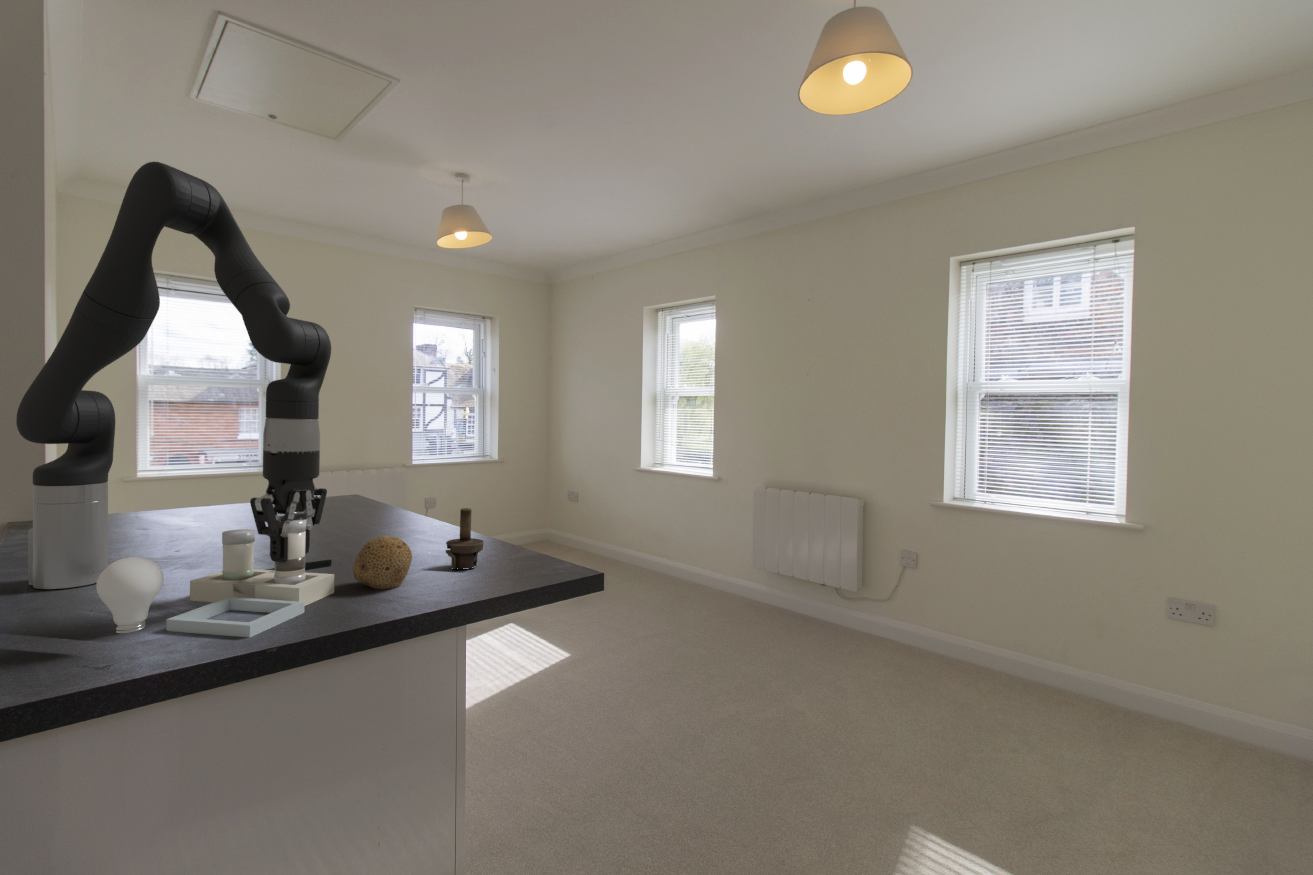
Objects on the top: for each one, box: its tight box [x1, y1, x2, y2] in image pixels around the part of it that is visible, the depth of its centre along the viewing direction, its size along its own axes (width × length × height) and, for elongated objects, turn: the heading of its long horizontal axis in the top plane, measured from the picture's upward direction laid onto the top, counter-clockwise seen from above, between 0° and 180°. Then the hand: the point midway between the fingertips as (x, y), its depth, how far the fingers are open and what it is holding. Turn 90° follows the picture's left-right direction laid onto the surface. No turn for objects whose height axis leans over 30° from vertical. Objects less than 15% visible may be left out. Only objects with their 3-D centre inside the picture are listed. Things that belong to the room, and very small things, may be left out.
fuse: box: [221, 528, 256, 581], centre depth 94 cm, size 4×4×10 cm
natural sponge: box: [352, 535, 413, 590], centre depth 101 cm, size 9×9×10 cm
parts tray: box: [165, 597, 305, 638], centre depth 82 cm, size 12×10×3 cm
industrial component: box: [445, 507, 485, 569], centre depth 120 cm, size 9×7×12 cm
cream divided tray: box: [189, 568, 335, 607], centre depth 93 cm, size 18×8×4 cm, turn 83°
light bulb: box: [95, 556, 165, 634], centre depth 78 cm, size 7×7×11 cm
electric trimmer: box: [265, 559, 333, 571], centre depth 108 cm, size 4×16×3 cm, turn 136°
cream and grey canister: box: [274, 518, 307, 585], centre depth 93 cm, size 4×4×10 cm
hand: (290, 556), depth 93 cm, fingers closed on cream and grey canister, 4 cm apart
